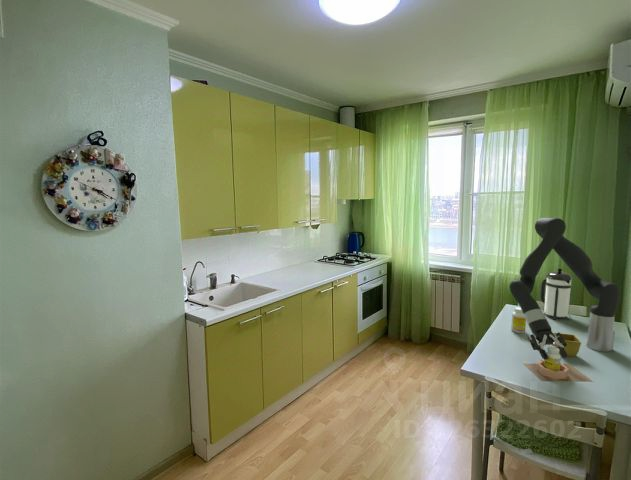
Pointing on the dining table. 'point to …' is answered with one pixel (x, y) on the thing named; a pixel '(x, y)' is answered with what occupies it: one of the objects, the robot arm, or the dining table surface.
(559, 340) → the robot arm
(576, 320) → the dining table surface
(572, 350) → the flower pot
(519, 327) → the supplement bottle
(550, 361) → the supplement bottle
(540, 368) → the octagonal planter bowl
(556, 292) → the coffee press
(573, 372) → the walnut board
